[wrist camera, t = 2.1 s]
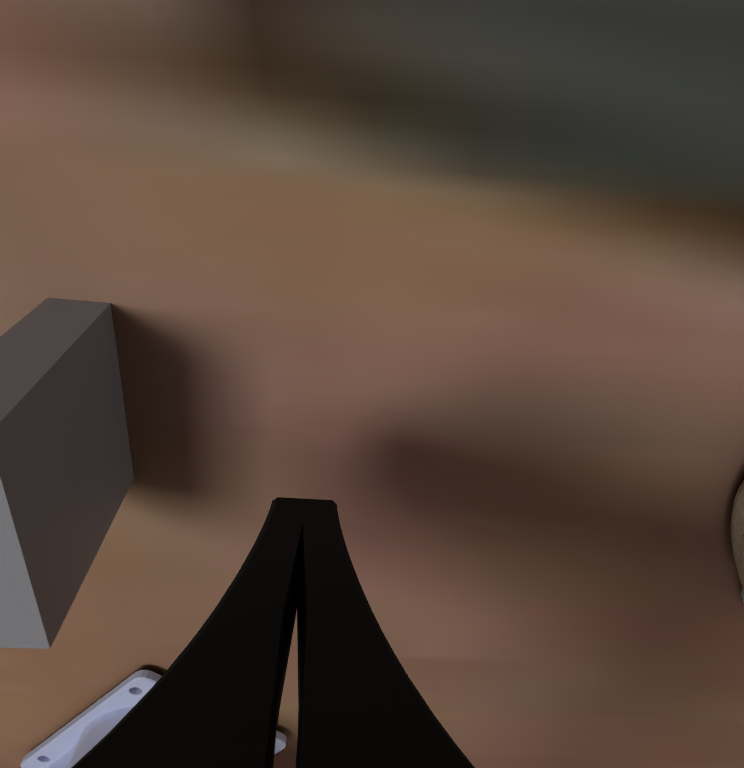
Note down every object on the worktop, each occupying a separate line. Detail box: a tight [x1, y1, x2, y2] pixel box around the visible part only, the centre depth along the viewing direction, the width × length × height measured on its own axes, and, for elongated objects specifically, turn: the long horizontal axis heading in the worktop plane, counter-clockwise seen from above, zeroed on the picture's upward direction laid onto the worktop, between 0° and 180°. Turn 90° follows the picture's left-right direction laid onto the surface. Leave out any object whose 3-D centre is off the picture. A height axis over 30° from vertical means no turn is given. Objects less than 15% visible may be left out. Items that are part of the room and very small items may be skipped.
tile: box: [0, 298, 134, 649], centre depth 14 cm, size 2×6×6 cm, turn 174°
